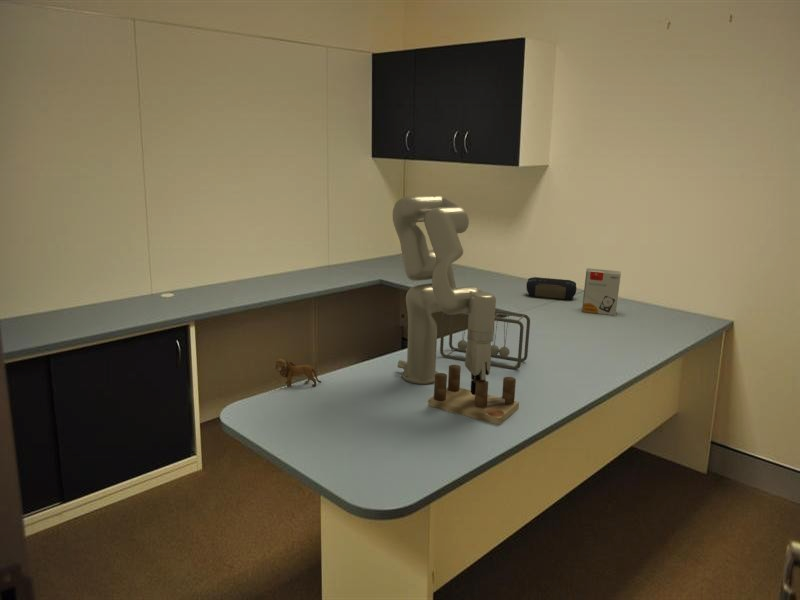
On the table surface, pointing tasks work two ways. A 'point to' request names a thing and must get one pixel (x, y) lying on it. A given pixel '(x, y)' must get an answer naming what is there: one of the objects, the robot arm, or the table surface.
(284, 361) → the lion figurine
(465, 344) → the newton's cradle
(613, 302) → the hard drive box
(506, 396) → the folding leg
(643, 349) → the table surface
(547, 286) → the portable speaker
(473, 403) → the stool seat
